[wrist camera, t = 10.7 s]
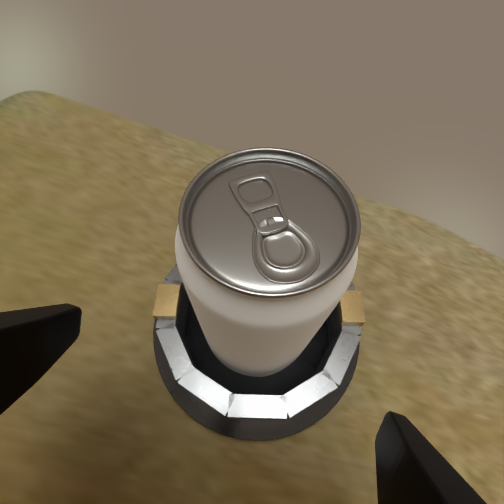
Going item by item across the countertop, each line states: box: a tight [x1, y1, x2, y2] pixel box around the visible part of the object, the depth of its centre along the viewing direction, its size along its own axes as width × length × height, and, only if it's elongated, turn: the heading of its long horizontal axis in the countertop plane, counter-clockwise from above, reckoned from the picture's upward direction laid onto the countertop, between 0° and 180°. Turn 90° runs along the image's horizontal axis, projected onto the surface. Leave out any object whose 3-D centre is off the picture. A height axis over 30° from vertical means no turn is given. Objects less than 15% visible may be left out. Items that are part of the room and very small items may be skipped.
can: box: [175, 147, 361, 377], centre depth 15 cm, size 6×6×12 cm
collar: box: [153, 264, 365, 441], centre depth 19 cm, size 13×13×5 cm
